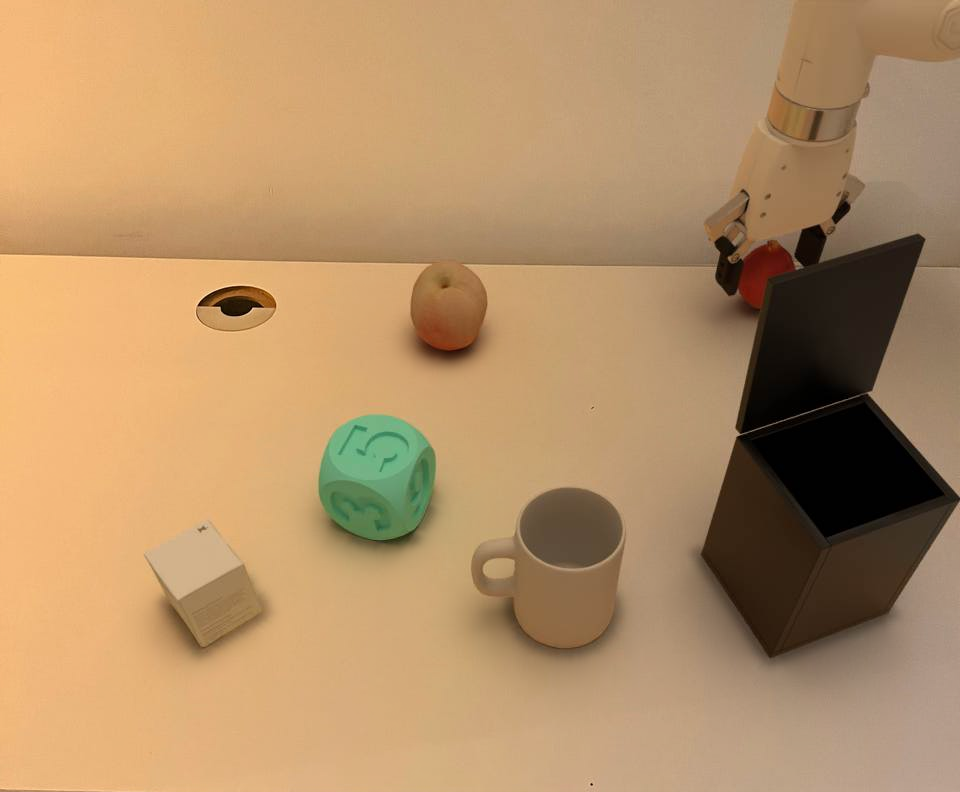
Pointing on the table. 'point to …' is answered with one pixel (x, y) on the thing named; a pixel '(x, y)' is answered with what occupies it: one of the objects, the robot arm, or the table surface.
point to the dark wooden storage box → (823, 522)
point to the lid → (825, 332)
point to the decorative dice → (377, 476)
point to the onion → (763, 270)
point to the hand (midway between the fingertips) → (765, 275)
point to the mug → (560, 565)
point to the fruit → (448, 305)
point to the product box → (204, 582)
